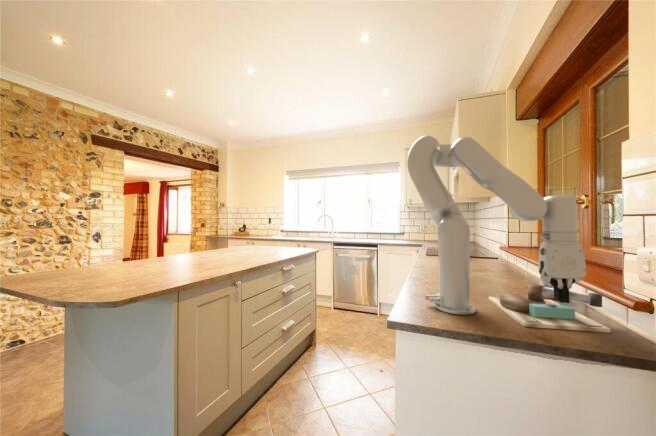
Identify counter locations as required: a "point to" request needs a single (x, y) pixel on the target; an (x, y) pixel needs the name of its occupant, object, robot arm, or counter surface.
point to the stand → (552, 319)
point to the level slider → (552, 311)
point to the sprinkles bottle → (546, 284)
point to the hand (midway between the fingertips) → (561, 301)
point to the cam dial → (537, 297)
